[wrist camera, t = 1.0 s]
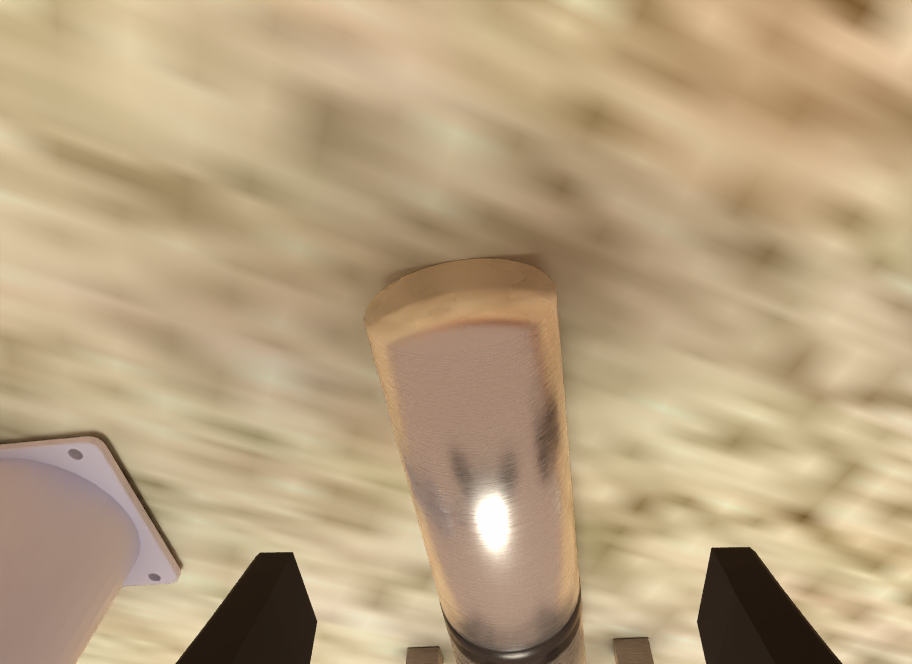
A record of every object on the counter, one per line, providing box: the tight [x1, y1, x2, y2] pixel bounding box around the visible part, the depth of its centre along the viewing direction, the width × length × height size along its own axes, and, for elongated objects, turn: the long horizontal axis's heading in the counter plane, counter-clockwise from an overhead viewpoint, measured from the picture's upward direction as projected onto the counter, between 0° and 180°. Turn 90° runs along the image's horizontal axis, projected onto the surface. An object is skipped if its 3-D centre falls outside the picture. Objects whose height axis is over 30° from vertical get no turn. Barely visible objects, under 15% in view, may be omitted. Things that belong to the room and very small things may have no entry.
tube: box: [364, 258, 586, 664], centre depth 20 cm, size 18×5×5 cm, turn 9°
